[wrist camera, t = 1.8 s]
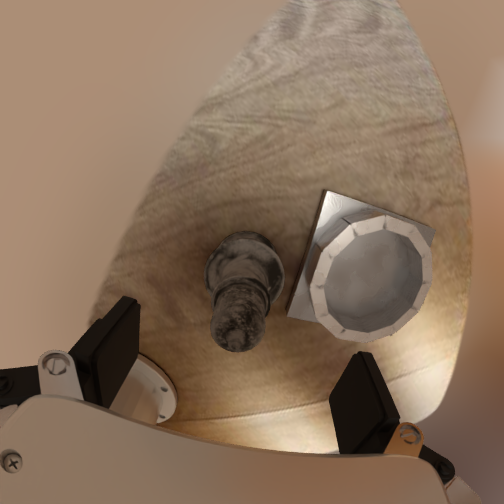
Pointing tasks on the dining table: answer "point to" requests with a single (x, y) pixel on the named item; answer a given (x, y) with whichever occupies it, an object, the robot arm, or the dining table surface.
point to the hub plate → (362, 270)
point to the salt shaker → (242, 289)
